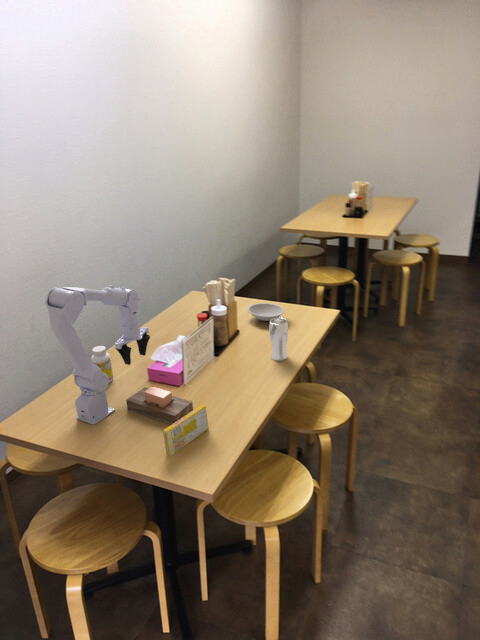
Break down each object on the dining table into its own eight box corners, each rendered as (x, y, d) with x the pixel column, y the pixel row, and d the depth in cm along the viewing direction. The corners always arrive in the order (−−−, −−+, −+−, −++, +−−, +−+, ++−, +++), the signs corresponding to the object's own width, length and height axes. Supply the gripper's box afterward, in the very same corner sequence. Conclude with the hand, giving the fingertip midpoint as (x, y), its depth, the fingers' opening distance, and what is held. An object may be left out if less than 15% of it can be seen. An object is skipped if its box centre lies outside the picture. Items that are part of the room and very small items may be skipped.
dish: (240, 320, 239) (239, 309, 237) (262, 310, 248) (262, 300, 246) (269, 330, 227) (269, 319, 225) (291, 320, 236) (291, 309, 234)
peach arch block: (165, 414, 170) (163, 398, 168) (146, 408, 174) (143, 391, 172) (173, 408, 173) (171, 392, 171) (154, 402, 177) (152, 386, 175)
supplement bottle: (90, 383, 193) (85, 350, 188) (103, 374, 198) (97, 343, 193) (105, 386, 190) (99, 354, 185) (117, 378, 195) (112, 346, 190)
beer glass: (288, 353, 207) (288, 317, 201) (288, 361, 200) (287, 324, 195) (270, 353, 208) (269, 317, 202) (269, 361, 201) (268, 324, 195)
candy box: (204, 426, 164) (201, 403, 161) (209, 429, 163) (207, 405, 160) (165, 453, 153) (162, 429, 150) (170, 456, 152) (167, 432, 148)
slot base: (175, 425, 165) (174, 415, 164) (127, 409, 175) (126, 399, 174) (193, 411, 172) (192, 401, 171) (145, 396, 182) (144, 387, 181)
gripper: (124, 333, 172) (129, 370, 178) (153, 317, 184) (157, 353, 189) (108, 329, 176) (114, 366, 181) (137, 314, 187) (142, 349, 192)
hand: (135, 359), depth 185 cm, fingers open, 7 cm apart
